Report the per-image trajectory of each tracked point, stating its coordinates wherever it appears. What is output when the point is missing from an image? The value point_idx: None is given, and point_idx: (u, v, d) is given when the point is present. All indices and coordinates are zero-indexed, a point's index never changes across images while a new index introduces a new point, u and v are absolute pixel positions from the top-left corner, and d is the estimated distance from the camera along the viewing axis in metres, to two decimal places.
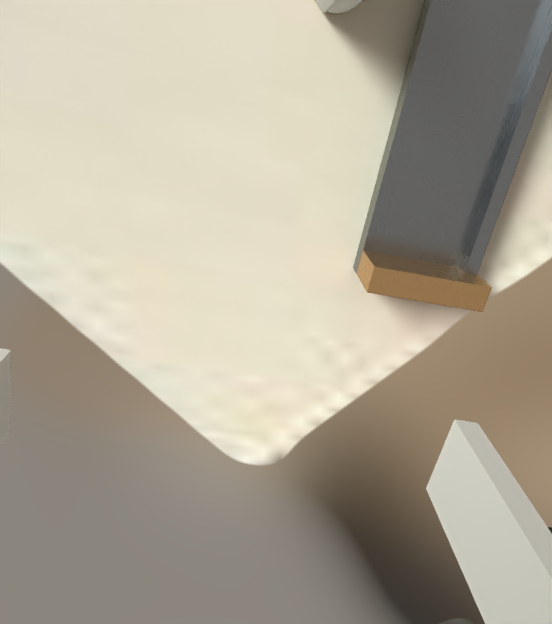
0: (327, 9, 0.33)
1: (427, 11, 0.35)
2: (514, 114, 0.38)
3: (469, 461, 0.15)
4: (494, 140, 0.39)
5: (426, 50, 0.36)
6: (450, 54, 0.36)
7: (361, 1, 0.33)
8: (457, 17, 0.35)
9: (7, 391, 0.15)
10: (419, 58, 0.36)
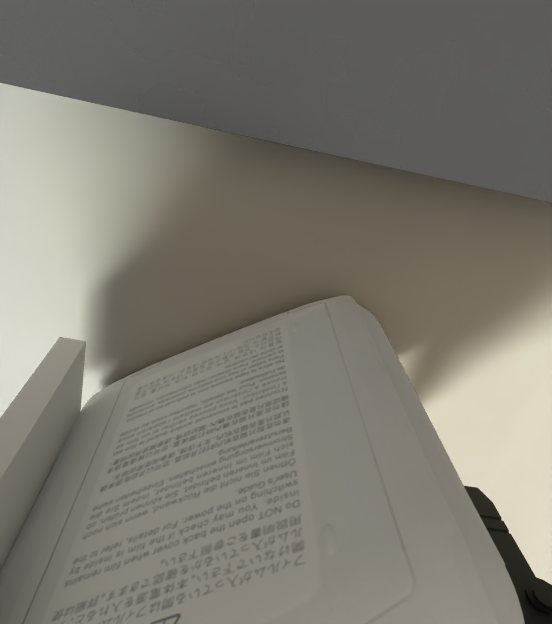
0: None
1: (415, 172, 0.14)
2: None
3: None
4: None
5: (506, 168, 0.14)
6: (529, 98, 0.13)
7: (408, 379, 0.14)
8: (442, 89, 0.13)
9: (81, 379, 0.16)
10: (521, 184, 0.14)
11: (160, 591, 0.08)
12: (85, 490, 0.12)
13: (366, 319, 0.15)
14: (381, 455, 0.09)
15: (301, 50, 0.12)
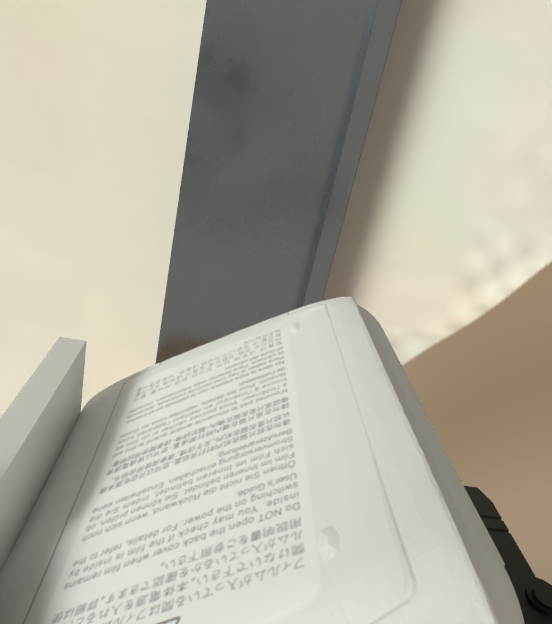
0: None
1: (196, 78, 0.27)
2: (324, 205, 0.30)
3: None
4: (304, 235, 0.30)
5: (200, 126, 0.28)
6: (233, 132, 0.28)
7: None
8: (235, 86, 0.27)
9: (81, 379, 0.16)
10: (193, 136, 0.28)
11: (160, 593, 0.08)
12: (84, 492, 0.12)
13: (366, 320, 0.15)
14: (381, 458, 0.09)
15: (251, 8, 0.26)
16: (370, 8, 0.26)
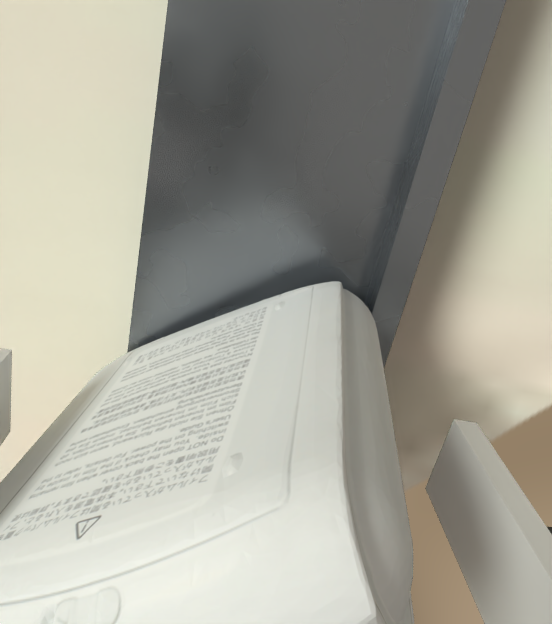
0: None
1: None
2: (401, 186, 0.17)
3: (468, 461, 0.15)
4: (362, 238, 0.18)
5: (185, 41, 0.15)
6: (243, 52, 0.16)
7: (377, 357, 0.14)
8: None
9: (8, 391, 0.15)
10: (171, 59, 0.16)
11: (94, 500, 0.10)
12: (70, 432, 0.14)
13: (350, 303, 0.16)
14: (303, 404, 0.10)
15: None
16: None
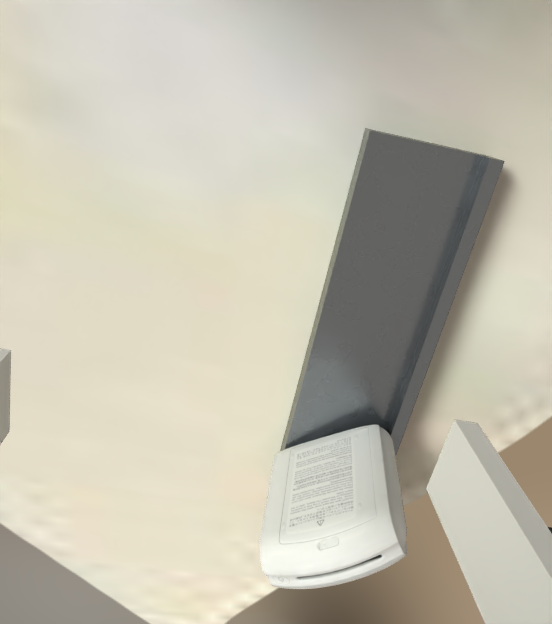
0: None
1: (320, 311, 0.40)
2: (402, 386, 0.43)
3: (469, 461, 0.15)
4: (386, 403, 0.43)
5: (321, 340, 0.41)
6: (343, 343, 0.41)
7: (394, 461, 0.40)
8: (347, 316, 0.40)
9: (7, 391, 0.15)
10: (316, 346, 0.41)
11: (318, 515, 0.35)
12: (287, 489, 0.39)
13: (383, 436, 0.42)
14: (375, 487, 0.36)
15: (361, 273, 0.39)
16: (440, 271, 0.39)
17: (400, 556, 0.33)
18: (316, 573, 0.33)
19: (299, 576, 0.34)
